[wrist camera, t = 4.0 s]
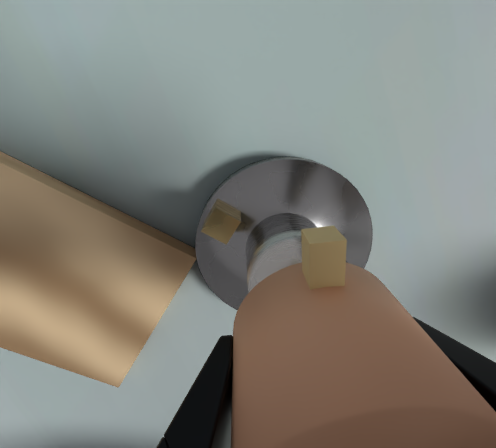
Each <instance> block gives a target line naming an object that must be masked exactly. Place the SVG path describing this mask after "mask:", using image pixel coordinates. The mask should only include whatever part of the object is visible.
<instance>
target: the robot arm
mask: <svg viewBox="0 0 496 448" xmlns="http://www.w3.org/2000/svg"><path fill="white" fill-rule="evenodd" d="M413 318H414V317H413ZM414 320H415V321H416V322H417V323H418V324H419V325H420V326H421V327H422V329H423V330H424V331H425V332H426V333H427V334H428V335H429V337H430V338H431V339H432V340H433V341H434V342H435V343H436V345H437V346H438V347H439V348H440V349H441V350H442V351H443V352H444V354H445V355H446V356H447V357H448V358H449V359H450V360H451V362H452V363H453V364H454V365H455V366H456V367H457V368H458V370H459V371H460V372H461V373H462V374H463V375H464V376H465V378H466V379H467V380H468V381H469V382H470V383H471V384H472V385H473V387H474V388H475V389H476V390H477V391H478V392H479V393H480V395H481V396H482V397H483V398H484V399H485V400H486V401H487V403H488V404H489V405H490V406H491V407H492V408H493V409H494V411H495V412H496V363H495V362H493V361H492V360H490V359H488V358H486V357H484V356H483V355H481V354H479V353H477V352H475V351H474V350H472V349H470V348H468V347H467V346H465V345H463V344H461V343H459V342H458V341H456V340H454V339H452V338H450V337H449V336H447V335H445V334H443V333H441V332H440V331H438V330H436V329H434V328H433V327H431V326H429V325H427V324H425V323H424V322H422V321H420V320H418V319H416V318H414ZM232 366H233V336H232V335H227V336H221V337H220V338H219V340H218V342H217V343H216V345H215V347H214V349H213V350H212V352H211V354H210V356H209V357H208V359H207V361H206V362H205V364H204V366H203V368H202V369H201V371H200V373H199V375H198V376H197V378H196V380H195V382H194V383H193V385H192V387H191V389H190V390H189V392H188V394H187V396H186V397H185V399H184V401H183V403H182V404H181V406H180V408H179V410H178V411H177V413H176V415H175V416H174V418H173V420H172V422H171V423H170V425H169V427H168V429H167V430H166V432H165V434H164V437H165V438H164V437H163V438H162V439H161V441H160V442H159V444H158V446H157V448H231V412H232Z"/></svg>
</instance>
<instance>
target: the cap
mask: <svg viewBox="0 0 496 448" xmlns="http://www.w3.org/2000/svg"><path fill="white" fill-rule="evenodd" d="M301 244H302V262H301V263H298V264H294V265H291V266H288V267H285V268H283V269H281V270H278V271H277V272H275V273H273V274H271V275H269V276H268V277H266V278H265V279H263V280H262V281H261V282H259V283H258V284H257V285H256V286H255V287H254V288H253V289H252V290H251V291H250V292H249V293H248V294H247V296H246V297H245V298H244V300H243V301H242V303H241V305H240V307H239V309H238V311H237V313H236V317H235V321H234V328H233V366H232V412H231V448H496V412H495V411H494V409H493V408H492V407H491V406H490V405H489V404H488V403H487V401H486V400H485V399H484V398H483V397H482V396H481V395H480V393H479V392H478V391H477V390H476V389H475V388H474V387H473V385H472V384H471V383H470V382H469V381H468V380H467V379H466V378H465V376H464V375H463V374H462V373H461V372H460V371H459V370H458V368H457V367H456V366H455V365H454V364H453V363H452V362H451V360H450V359H449V358H448V357H447V356H446V355H445V354H444V352H443V351H442V350H441V349H440V348H439V347H438V346H437V345H436V343H435V342H434V341H433V340H432V339H431V338H430V337H429V335H428V334H427V333H426V332H425V331H424V330H423V329H422V327H421V326H420V325H419V324H418V323H417V322H416V321H415V320H414V318H413V317H412V316H411V315H410V314H409V313H408V312H407V310H406V309H405V308H404V307H403V306H402V305H401V304H400V302H399V301H398V300H397V299H396V298H395V297H394V296H393V294H392V293H391V292H390V291H389V290H388V289H387V288H386V287H385V285H384V284H383V283H382V282H381V281H380V280H379V279H378V278H377V277H376V276H374V275H373V274H371V273H370V272H369V271H367V270H365V269H363V268H361V267H359V266H356V265H353V264H350V263H346V246H347V240H346V238H345V237H344V236H343V235H342V234H341V233H340V232H339V231H338V230H337V228H336V227H335V226H326V227H317V228H307V229H301Z"/></svg>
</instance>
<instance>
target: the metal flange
mask: <svg viewBox="0 0 496 448" xmlns="http://www.w3.org/2000/svg"><path fill="white" fill-rule="evenodd" d="M326 226H335V227H336V228H337V230H338V231H339V232H340V233H341V234H342V235H343V236H344V237H345V238H346V240H347V246H346V263H350V264H353V265H356V266H359V267H361V268H363V269H364V267H365V265H366V263H367V261H368V258H369V254H370V251H371V246H372V230H373V229H372V222H371V217H370V214H369V210H368V207H367V205H366V203H365V201H364V199H363V198H362V196H361V195H360V193H359V192H358V190H357V189H356V188H355V187H354V186H353V185H352V184H351V183H350V182H349V181H348V180H347V179H346V178H344V177H343V176H342V175H341V174H339V173H337V172H336V171H334V170H332V169H330V168H328V167H326V166H325V165H323V164H320V163H317V162H315V161H312V160H308V159H304V158H297V157H275V158H270V159H264V160H261V161H258V162H255V163H252V164H250V165H248V166H246V167H243V168H241V169H240V170H238V171H237V172H235V173H234V174H232V175H231V176H229V177H228V178H227V179H226V180H225V181H224V182H222V183H221V185H220V186H219V187H218V188H217V189H216V190H215V191H214V193H213V194H212V196H211V197H210V199H209V200H208V202H207V204H206V206H205V208H204V210H203V212H202V215H201V218H200V221H199V224H198V227H197V233H196V241H195V250H196V258H197V262H198V266H199V269H200V271H201V274H202V276H203V278H204V280H205V281H206V283H207V284H208V286H209V287H210V289H211V290H212V291H213V292H214V293H215V294H216V295H217V296H218V297H219V298H220V299H221V300H222V301H224V302H225V303H226V304H228V305H229V306H231V307H233V308H234V309H236V310H238V309H239V307H240V305H241V303H242V301H243V300H244V298H245V297H246V296H247V294H248V293H249V292H250V291H251V290H252V289H253V288H254V287H255V286H256V285H257V284H258V283H259V282H261V281H262V280H263V279H265V278H266V277H268V276H269V275H271V274H273V273H275V272H277V271H278V270H281V269H283V268H285V267H288V266H291V265H294V264H298V263H301V262H302V244H301V229H307V228H317V227H326Z"/></svg>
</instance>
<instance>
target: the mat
mask: <svg viewBox="0 0 496 448" xmlns="http://www.w3.org/2000/svg"><path fill="white" fill-rule="evenodd" d="M196 259H197V258H196V250H195V248H193V247H191V246H189V245H187V244H185V243H183V242H181V241H179V240H177V239H175V238H173V237H171V236H169V235H167V234H165V233H163V232H161V231H159V230H157V229H155V228H153V227H151V226H149V225H147V224H145V223H143V222H141V221H139V220H137V219H135V218H133V217H131V216H129V215H127V214H125V213H123V212H121V211H119V210H117V209H115V208H113V207H111V206H109V205H107V204H105V203H103V202H101V201H99V200H97V199H95V198H93V197H91V196H89V195H87V194H85V193H83V192H81V191H79V190H77V189H75V188H73V187H71V186H69V185H67V184H65V183H63V182H61V181H59V180H57V179H55V178H53V177H51V176H49V175H47V174H45V173H43V172H41V171H39V170H37V169H35V168H33V167H31V166H29V165H27V164H25V163H23V162H21V161H19V160H17V159H15V158H13V157H11V156H9V155H7V154H5V153H3V152H1V151H0V347H1V348H4V349H7V350H10V351H13V352H16V353H19V354H22V355H25V356H28V357H30V358H33V359H36V360H39V361H42V362H45V363H48V364H51V365H54V366H57V367H60V368H63V369H66V370H69V371H72V372H75V373H77V374H80V375H83V376H86V377H89V378H92V379H95V380H98V381H101V382H104V383H107V384H110V385H113V386H116V387H119V386H120V384H121V383H122V381H123V379H124V378H125V376H126V374H127V373H128V371H129V369H130V368H131V366H132V364H133V363H134V361H135V360H136V358H137V356H138V355H139V353H140V351H141V350H142V348H143V346H144V345H145V343H146V341H147V340H148V338H149V336H150V335H151V333H152V331H153V330H154V328H155V327H156V325H157V323H158V322H159V320H160V318H161V317H162V315H163V313H164V312H165V310H166V308H167V307H168V305H169V303H170V302H171V300H172V298H173V297H174V295H175V293H176V292H177V290H178V289H179V287H180V285H181V284H182V282H183V280H184V279H185V277H186V275H187V274H188V272H189V270H190V269H191V267H192V265H193V264H194V262H195V260H196Z"/></svg>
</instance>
